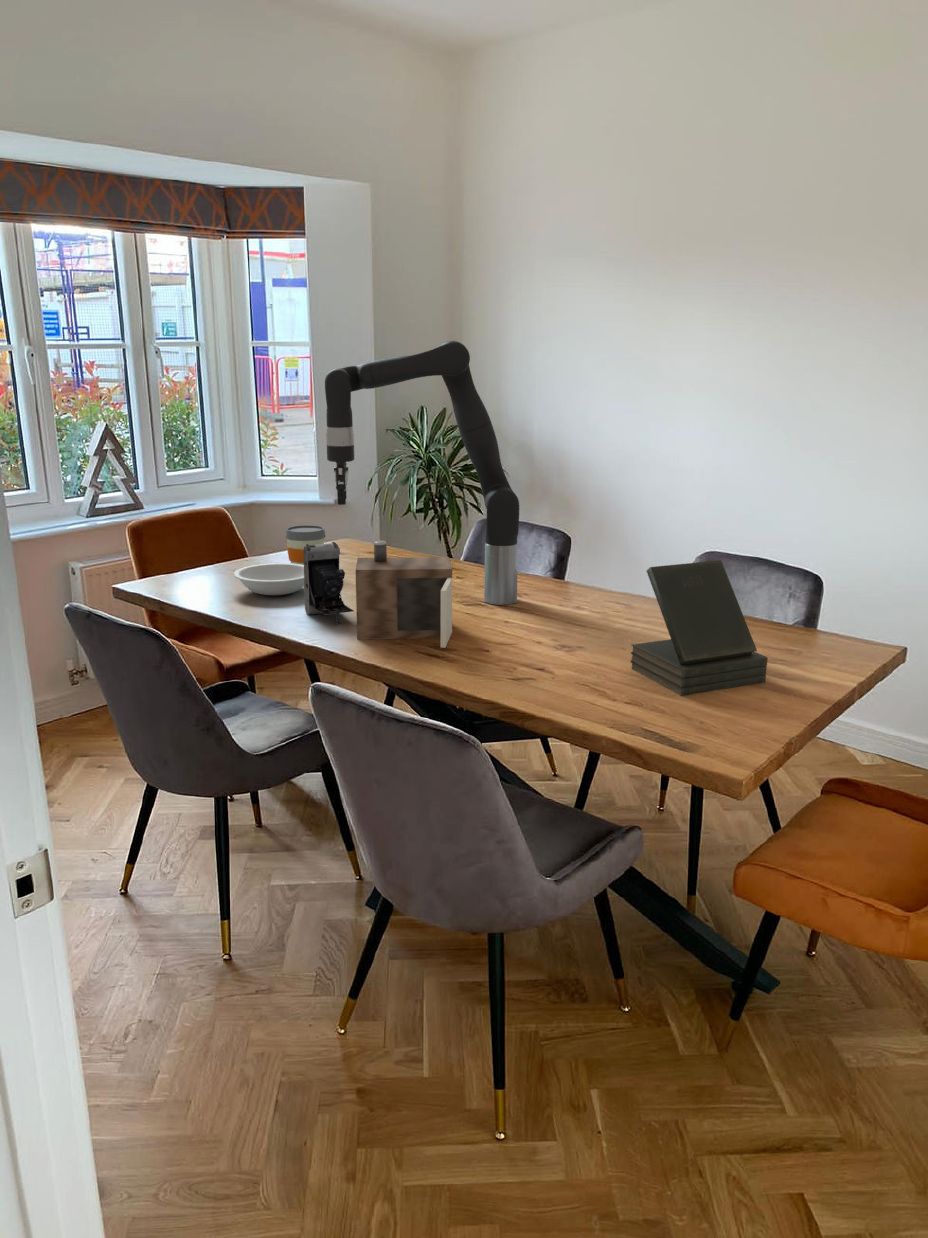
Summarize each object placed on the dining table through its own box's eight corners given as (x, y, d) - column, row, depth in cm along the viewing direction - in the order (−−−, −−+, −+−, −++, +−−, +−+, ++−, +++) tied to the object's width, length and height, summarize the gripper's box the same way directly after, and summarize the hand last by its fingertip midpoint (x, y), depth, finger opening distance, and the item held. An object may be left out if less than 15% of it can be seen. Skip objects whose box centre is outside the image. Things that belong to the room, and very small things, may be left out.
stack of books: (680, 697, 206) (688, 584, 199) (629, 670, 223) (635, 564, 216) (765, 683, 215) (776, 574, 208) (710, 658, 232) (719, 556, 225)
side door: (447, 630, 244) (447, 577, 240) (452, 631, 244) (452, 577, 240) (440, 647, 231) (440, 590, 227) (445, 647, 230) (445, 590, 227)
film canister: (387, 559, 250) (386, 540, 249) (387, 562, 247) (386, 543, 245) (374, 559, 250) (373, 540, 248) (373, 562, 246) (373, 543, 245)
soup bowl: (309, 604, 276) (308, 581, 274) (225, 603, 276) (224, 580, 274) (322, 584, 299) (321, 563, 297) (245, 583, 299) (244, 562, 297)
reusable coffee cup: (323, 579, 305) (321, 532, 301) (283, 578, 305) (281, 532, 301) (329, 570, 317) (327, 525, 313) (291, 569, 317) (289, 524, 313)
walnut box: (449, 622, 258) (449, 557, 253) (451, 638, 245) (452, 569, 240) (359, 623, 257) (357, 557, 252) (357, 639, 243) (355, 569, 238)
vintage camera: (321, 629, 253) (321, 555, 247) (303, 612, 266) (302, 542, 260) (356, 625, 258) (357, 552, 252) (336, 609, 271) (336, 540, 265)
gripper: (353, 446, 258) (355, 506, 262) (354, 440, 271) (356, 497, 276) (325, 446, 257) (327, 506, 262) (327, 440, 271) (329, 498, 275)
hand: (342, 502), depth 269 cm, fingers open, 8 cm apart
